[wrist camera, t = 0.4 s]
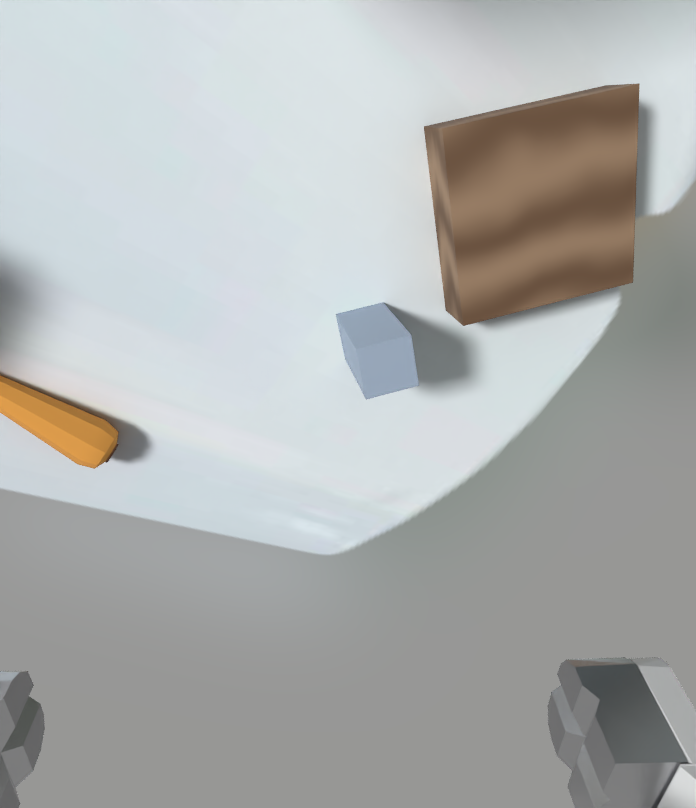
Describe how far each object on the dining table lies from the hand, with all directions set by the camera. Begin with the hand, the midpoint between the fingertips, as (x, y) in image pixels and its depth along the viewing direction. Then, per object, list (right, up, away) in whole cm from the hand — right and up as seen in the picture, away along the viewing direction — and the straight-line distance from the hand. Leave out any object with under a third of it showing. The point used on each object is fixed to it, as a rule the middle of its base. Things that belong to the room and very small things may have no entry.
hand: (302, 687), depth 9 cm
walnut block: (+16, +22, +45) cm, 53 cm away
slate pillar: (+2, +11, +47) cm, 48 cm away
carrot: (-28, +6, +43) cm, 52 cm away
